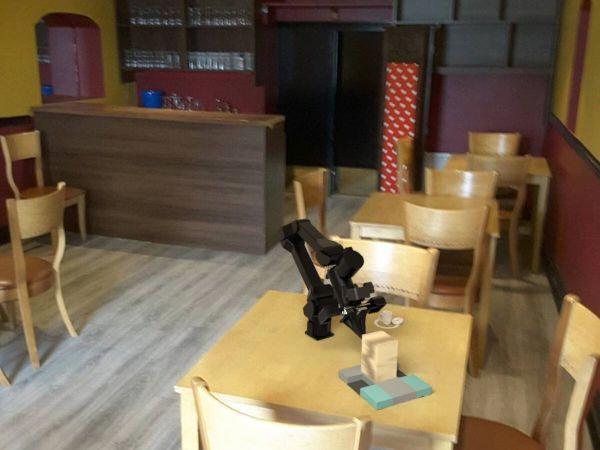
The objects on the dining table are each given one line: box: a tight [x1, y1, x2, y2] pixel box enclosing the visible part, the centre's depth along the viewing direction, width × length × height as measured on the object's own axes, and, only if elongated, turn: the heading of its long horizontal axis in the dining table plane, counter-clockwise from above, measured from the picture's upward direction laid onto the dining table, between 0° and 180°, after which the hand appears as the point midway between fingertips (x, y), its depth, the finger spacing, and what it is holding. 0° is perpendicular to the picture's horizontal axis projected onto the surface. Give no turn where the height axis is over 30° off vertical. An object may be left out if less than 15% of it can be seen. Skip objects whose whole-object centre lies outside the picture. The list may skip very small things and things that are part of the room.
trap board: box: [338, 362, 417, 406], centre depth 157 cm, size 18×16×2 cm
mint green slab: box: [359, 373, 433, 411], centre depth 152 cm, size 7×16×2 cm, turn 117°
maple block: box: [360, 330, 399, 383], centre depth 157 cm, size 7×6×10 cm
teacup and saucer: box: [373, 310, 404, 329], centre depth 193 cm, size 9×8×4 cm
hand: (364, 339), depth 163 cm, fingers closed
